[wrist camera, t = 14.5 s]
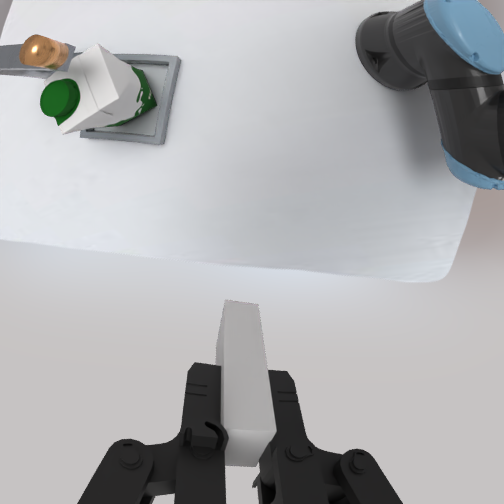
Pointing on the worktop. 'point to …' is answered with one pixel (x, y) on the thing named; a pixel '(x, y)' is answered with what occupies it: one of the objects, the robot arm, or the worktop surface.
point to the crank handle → (37, 55)
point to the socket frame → (164, 105)
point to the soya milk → (96, 92)
